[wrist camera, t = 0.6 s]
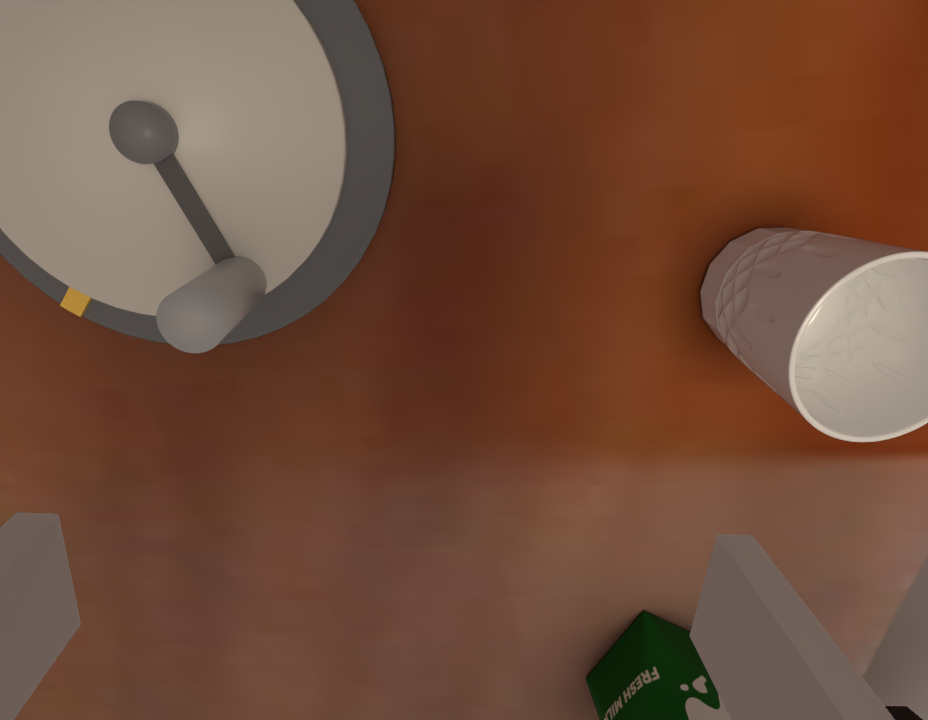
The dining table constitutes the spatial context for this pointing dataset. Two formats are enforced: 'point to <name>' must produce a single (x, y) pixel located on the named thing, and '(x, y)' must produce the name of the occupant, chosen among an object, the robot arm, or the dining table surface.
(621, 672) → the milk carton
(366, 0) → the dining table surface
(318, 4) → the stand base
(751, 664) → the robot arm
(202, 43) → the cream crank wheel
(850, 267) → the white cup
